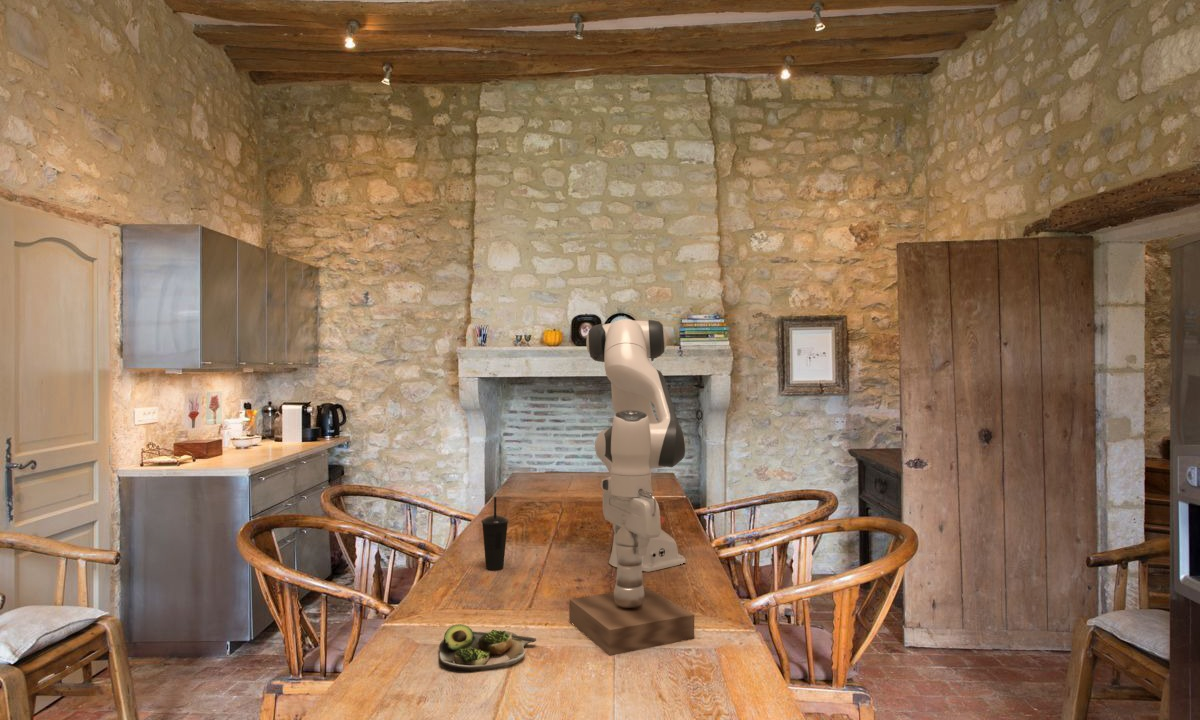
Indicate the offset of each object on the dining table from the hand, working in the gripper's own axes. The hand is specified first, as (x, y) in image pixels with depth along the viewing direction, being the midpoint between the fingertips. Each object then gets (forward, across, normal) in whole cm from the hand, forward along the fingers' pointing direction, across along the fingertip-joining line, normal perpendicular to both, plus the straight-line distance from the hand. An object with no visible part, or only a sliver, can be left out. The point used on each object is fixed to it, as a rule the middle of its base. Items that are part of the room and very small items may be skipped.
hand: (630, 549), depth 150 cm
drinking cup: (+18, +56, +13) cm, 60 cm away
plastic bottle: (+12, 0, 0) cm, 13 cm away
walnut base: (+17, 0, 0) cm, 17 cm away
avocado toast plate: (+18, +2, +33) cm, 38 cm away
